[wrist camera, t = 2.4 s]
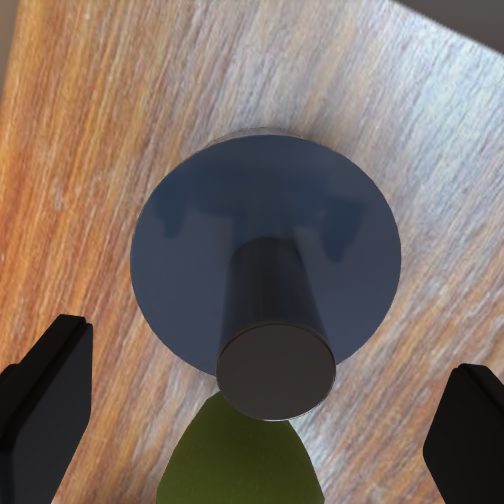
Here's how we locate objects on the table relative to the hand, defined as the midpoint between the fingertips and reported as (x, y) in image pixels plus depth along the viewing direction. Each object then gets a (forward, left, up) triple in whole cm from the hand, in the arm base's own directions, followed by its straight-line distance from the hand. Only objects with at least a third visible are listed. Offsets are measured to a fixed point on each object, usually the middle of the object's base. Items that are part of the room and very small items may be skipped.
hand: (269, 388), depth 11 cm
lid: (0, 0, -7) cm, 7 cm away
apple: (+6, +12, -15) cm, 20 cm away
